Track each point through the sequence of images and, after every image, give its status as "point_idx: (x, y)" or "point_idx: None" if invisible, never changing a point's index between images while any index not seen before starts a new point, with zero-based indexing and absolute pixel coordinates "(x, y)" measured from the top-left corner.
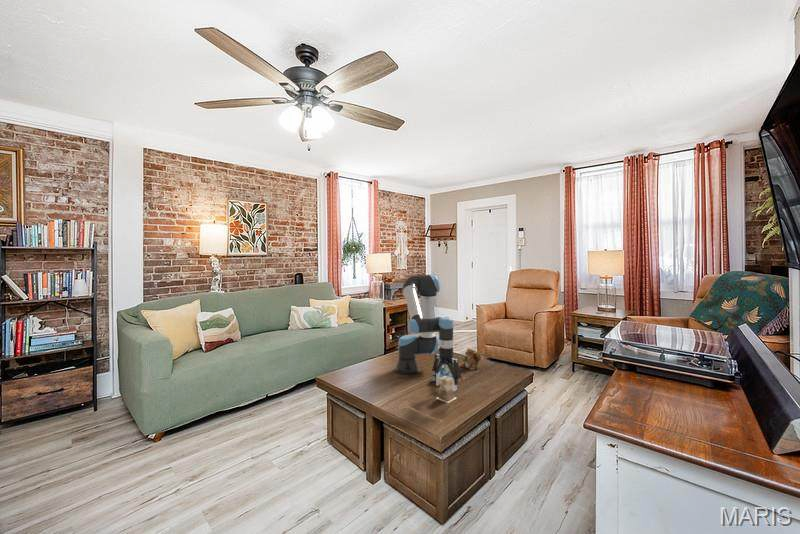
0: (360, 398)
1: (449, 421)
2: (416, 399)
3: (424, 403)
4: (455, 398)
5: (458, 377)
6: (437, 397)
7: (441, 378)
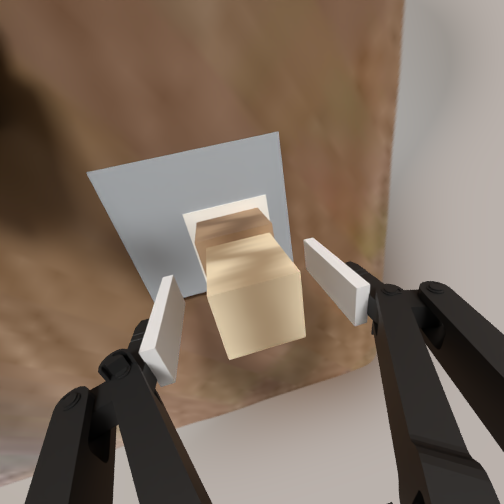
0: None
1: None
2: None
3: (207, 328)
4: (266, 206)
5: (440, 327)
6: (203, 274)
7: (241, 351)
